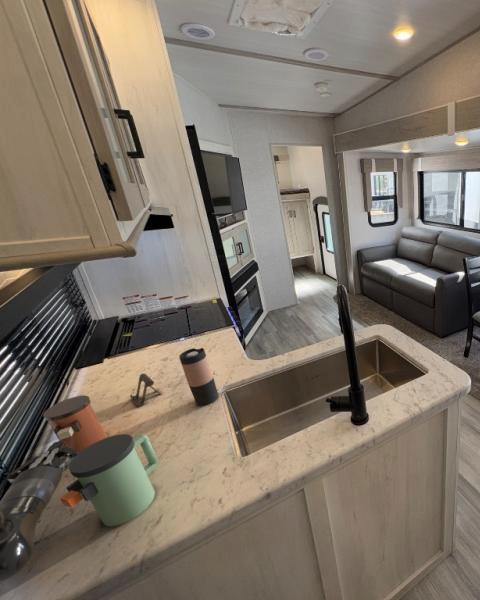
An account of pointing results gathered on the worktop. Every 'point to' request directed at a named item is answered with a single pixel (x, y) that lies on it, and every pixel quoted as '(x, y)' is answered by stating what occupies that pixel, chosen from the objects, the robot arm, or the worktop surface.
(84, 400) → the terracotta jug
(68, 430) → the button
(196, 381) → the travel mug
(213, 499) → the worktop surface
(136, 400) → the tablet stand
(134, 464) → the sage jug
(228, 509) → the worktop surface
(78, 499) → the orange cube
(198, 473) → the worktop surface
